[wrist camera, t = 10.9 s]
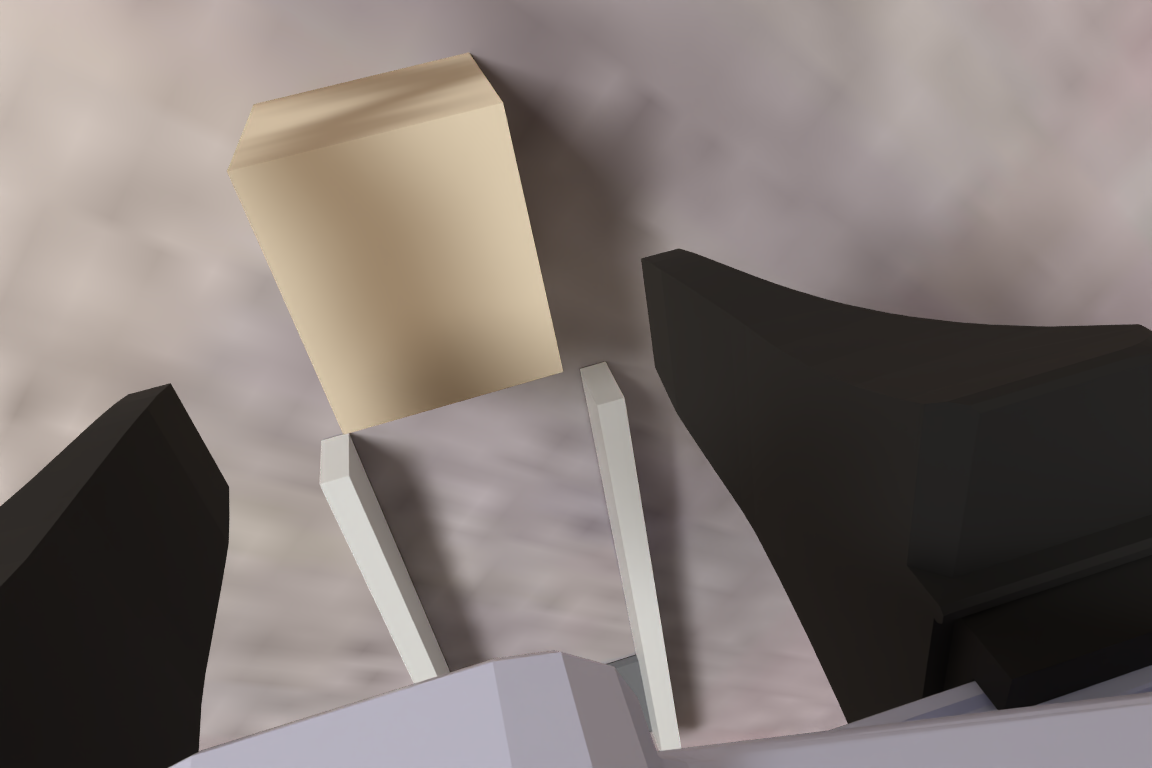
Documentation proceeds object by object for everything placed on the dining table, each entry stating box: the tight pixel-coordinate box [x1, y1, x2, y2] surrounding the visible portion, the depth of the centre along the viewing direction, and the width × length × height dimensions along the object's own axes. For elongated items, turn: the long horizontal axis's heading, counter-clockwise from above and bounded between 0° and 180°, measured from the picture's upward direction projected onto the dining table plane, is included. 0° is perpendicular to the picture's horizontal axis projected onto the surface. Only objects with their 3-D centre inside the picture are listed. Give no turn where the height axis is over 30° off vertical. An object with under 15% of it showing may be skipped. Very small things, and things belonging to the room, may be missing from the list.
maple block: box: [227, 53, 563, 434], centre depth 18 cm, size 5×6×5 cm
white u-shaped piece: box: [320, 362, 681, 751], centre depth 28 cm, size 9×19×2 cm, turn 10°
